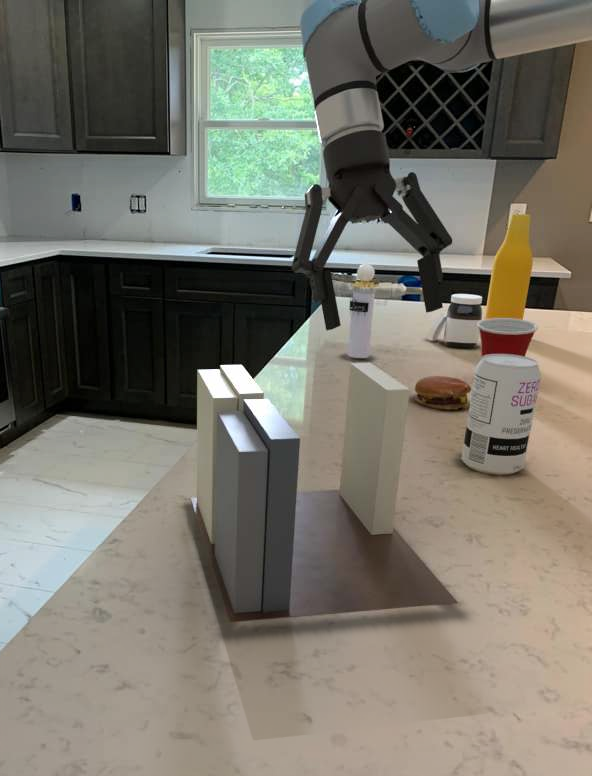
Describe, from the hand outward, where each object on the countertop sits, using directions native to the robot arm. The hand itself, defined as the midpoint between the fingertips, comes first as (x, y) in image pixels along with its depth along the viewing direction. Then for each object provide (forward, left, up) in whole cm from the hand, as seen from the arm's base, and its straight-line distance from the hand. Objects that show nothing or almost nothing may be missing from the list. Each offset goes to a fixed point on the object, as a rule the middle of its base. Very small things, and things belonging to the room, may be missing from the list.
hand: (384, 319), depth 88 cm
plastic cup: (-15, -57, -21) cm, 62 cm away
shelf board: (+3, +24, -21) cm, 32 cm away
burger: (-6, -39, -21) cm, 45 cm away
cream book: (-2, +14, -19) cm, 24 cm away
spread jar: (-4, -91, -21) cm, 93 cm away
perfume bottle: (+14, -67, -21) cm, 71 cm away
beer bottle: (-15, -109, -21) cm, 112 cm away
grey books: (+6, +33, -19) cm, 39 cm away
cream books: (+12, +22, -19) cm, 32 cm away
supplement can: (-15, -11, -21) cm, 28 cm away
